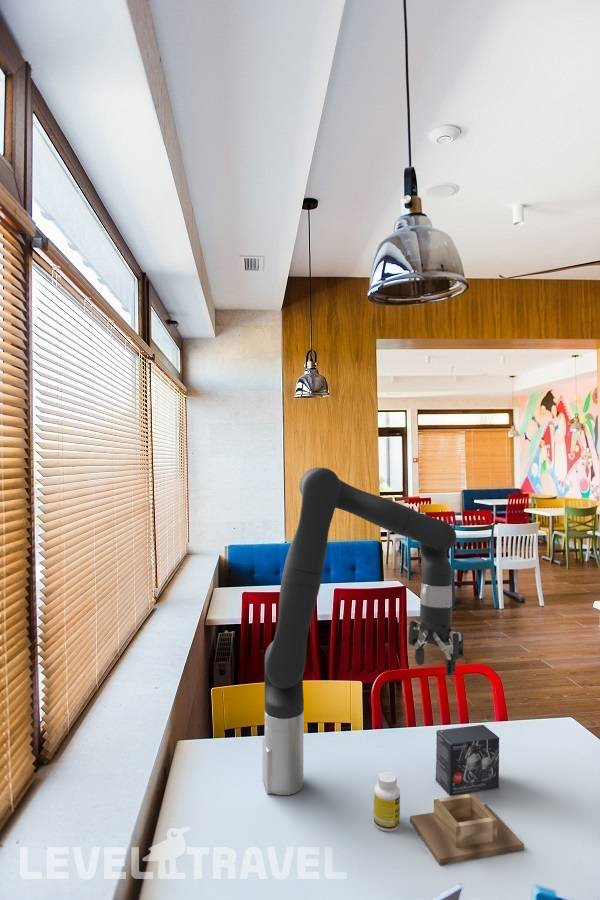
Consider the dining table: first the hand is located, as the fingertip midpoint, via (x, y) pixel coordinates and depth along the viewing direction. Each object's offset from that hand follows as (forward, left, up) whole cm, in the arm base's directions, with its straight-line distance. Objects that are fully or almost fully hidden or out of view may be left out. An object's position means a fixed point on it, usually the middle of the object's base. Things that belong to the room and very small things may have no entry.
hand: (434, 669), depth 134 cm
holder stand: (-4, -21, -26) cm, 33 cm away
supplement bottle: (-18, -14, -26) cm, 35 cm away
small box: (+6, -5, -26) cm, 27 cm away
